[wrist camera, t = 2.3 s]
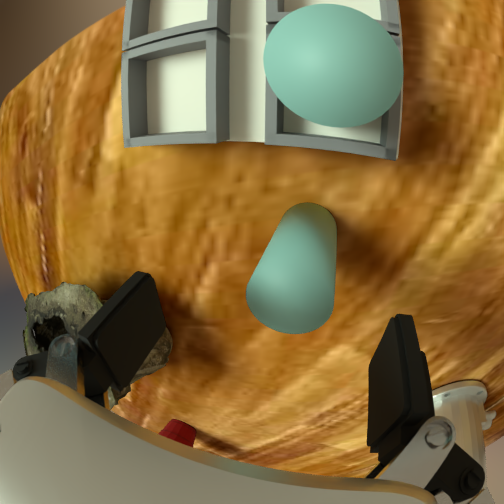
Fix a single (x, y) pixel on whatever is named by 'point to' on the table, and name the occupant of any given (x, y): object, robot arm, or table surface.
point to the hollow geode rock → (78, 327)
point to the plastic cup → (179, 432)
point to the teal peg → (296, 272)
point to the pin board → (264, 73)
